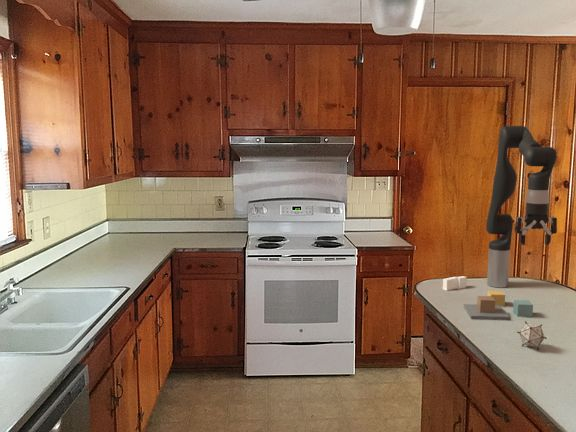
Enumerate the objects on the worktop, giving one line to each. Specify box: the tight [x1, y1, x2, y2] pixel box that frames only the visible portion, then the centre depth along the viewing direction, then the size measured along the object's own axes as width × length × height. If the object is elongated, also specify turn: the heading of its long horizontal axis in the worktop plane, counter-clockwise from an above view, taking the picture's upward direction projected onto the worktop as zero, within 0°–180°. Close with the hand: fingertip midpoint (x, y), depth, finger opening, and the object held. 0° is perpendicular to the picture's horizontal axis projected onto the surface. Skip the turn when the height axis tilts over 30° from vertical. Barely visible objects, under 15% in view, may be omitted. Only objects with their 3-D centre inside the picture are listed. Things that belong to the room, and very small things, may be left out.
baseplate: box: [463, 295, 510, 321], centre depth 207 cm, size 14×14×6 cm
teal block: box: [512, 299, 534, 318], centre depth 206 cm, size 6×6×5 cm
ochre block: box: [487, 290, 506, 307], centre depth 218 cm, size 6×6×5 cm
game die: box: [516, 320, 548, 351], centre depth 175 cm, size 9×8×10 cm
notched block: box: [442, 275, 468, 291], centre depth 241 cm, size 15×11×6 cm
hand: (534, 244), depth 197 cm, fingers open, 8 cm apart
